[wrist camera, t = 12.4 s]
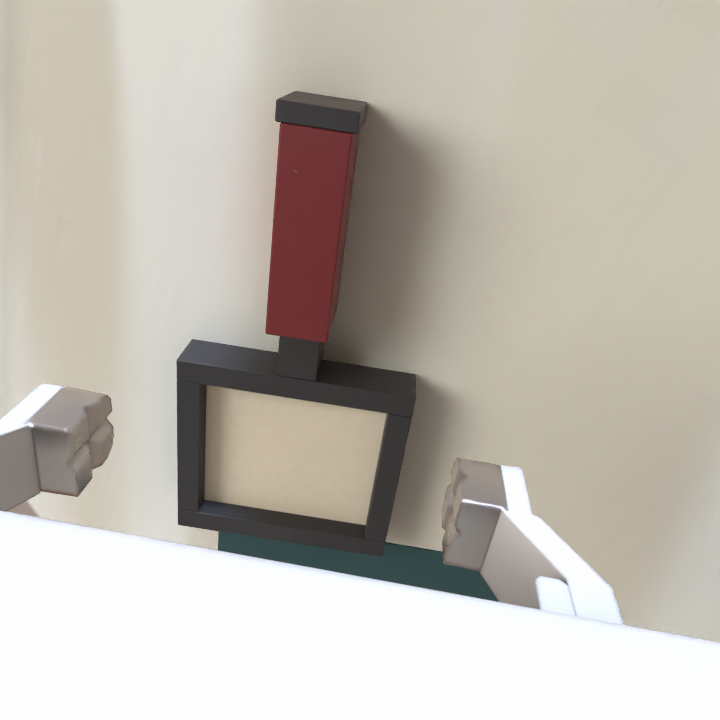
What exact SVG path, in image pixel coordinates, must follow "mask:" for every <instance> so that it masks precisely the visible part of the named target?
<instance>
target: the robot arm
mask: <svg viewBox="0 0 720 720" xmlns="http://www.w3.org/2000/svg"><path fill="white" fill-rule="evenodd" d="M111 412H112V404H111V398H110V397H109V396H108V395H105V394H100V393H95V392H90V391H85V390H80V389H75V388H70V387H64V386H59V385H54V384H48V383H45V384H40V385H39V386H38V387H37V388H36V389H35V390H33V391H32V392H31V393H30V394H29V395H28V396H27V397H26V398H24V399H23V400H22V401H21V402H20V403H19V404H18V405H17V406H15V407H14V408H13V409H12V410H11V411H10V412H9V413H8V414H7V415H5V416H4V417H3V418H2V419H0V720H720V642H715V641H710V640H704V639H699V638H693V637H687V636H682V635H676V634H671V633H665V632H660V631H654V630H649V629H643V628H638V627H633V626H627V625H624V622H623V619H622V616H621V613H620V610H619V607H618V604H617V601H616V598H615V595H614V592H613V589H612V587H611V586H610V585H609V584H608V583H607V582H606V581H605V580H604V579H603V578H602V577H601V576H600V575H599V574H597V573H596V572H595V571H594V570H593V569H592V568H591V567H590V566H589V565H588V564H587V563H586V562H585V561H584V560H583V559H582V558H581V557H580V556H579V555H578V554H577V553H576V552H575V551H574V550H573V549H572V548H571V547H570V546H569V545H568V544H567V543H566V542H565V541H564V540H563V539H562V538H561V537H560V536H558V535H557V534H556V533H555V532H554V531H553V530H552V529H551V528H550V527H549V526H548V525H547V524H546V523H545V522H544V521H543V520H542V519H541V518H540V517H539V516H534V515H533V514H532V509H531V505H530V500H529V496H528V491H527V487H526V482H525V478H524V473H523V470H522V469H521V468H519V467H513V466H506V465H495V464H489V463H484V462H478V461H472V460H466V459H460V458H456V460H455V462H454V465H453V468H452V471H451V474H452V484H450V485H449V486H448V487H447V490H446V494H445V498H444V504H443V510H442V527H443V529H444V530H445V534H444V537H443V541H442V545H443V564H448V565H452V566H457V567H462V568H467V569H471V570H476V571H481V572H480V574H481V575H482V577H483V578H484V580H485V581H486V583H487V584H488V586H489V587H490V589H491V590H492V592H493V593H494V595H495V596H496V598H497V599H498V601H499V602H496V601H491V600H486V599H480V598H475V597H469V596H464V595H458V594H453V593H448V592H442V591H437V590H431V589H426V588H420V587H415V586H409V585H404V584H398V583H393V582H388V581H382V580H377V579H371V578H366V577H360V576H355V575H349V574H344V573H338V572H333V571H327V570H322V569H317V568H311V567H306V566H300V565H295V564H289V563H284V562H278V561H273V560H267V559H262V558H256V557H251V556H246V555H240V554H235V553H229V552H224V551H218V550H213V549H207V548H202V547H197V546H191V545H186V544H180V543H175V542H169V541H164V540H158V539H153V538H148V537H142V536H137V535H131V534H126V533H120V532H115V531H109V530H104V529H98V528H93V527H88V526H82V525H77V524H71V523H66V522H60V521H55V520H49V519H44V518H39V517H33V516H28V515H22V514H16V513H11V512H7V511H9V510H10V509H12V508H14V507H16V506H18V505H19V504H21V503H23V502H25V501H27V500H28V499H30V498H32V497H34V496H36V495H37V494H39V493H40V491H43V492H49V493H56V494H62V495H69V496H75V497H78V496H79V495H80V493H81V492H82V491H83V489H84V488H85V487H86V485H87V484H88V483H89V482H90V480H91V479H92V469H95V468H97V467H99V466H101V465H102V464H103V463H104V462H105V460H106V459H107V457H108V455H109V453H110V450H111V448H112V444H113V437H114V433H113V426H112V424H111V423H110V422H109V421H108V419H107V417H108V415H109V414H110V413H111Z"/></svg>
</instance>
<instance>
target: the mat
mask: <svg viewBox="0 0 720 720" xmlns="http://www.w3.org/2000/svg"><path fill="white" fill-rule="evenodd" d="M218 551H224V552H229V553H235V554H240V555H246V556H251V557H256V558H262V559H267V560H273V561H278V562H284V563H289V564H295V565H300V566H306V567H311V568H317V569H322V570H327V571H333V572H338V573H344V574H349V575H355V576H360V577H366V578H371V579H377V580H382V581H388V582H393V583H398V584H404V585H409V586H415V587H420V588H426V589H431V590H437V591H442V592H448V593H453V594H458V595H464V596H469V597H475V598H480V599H486V600H491V601H496V602H499V601H498V599H497V598H496V596H495V595H494V593H493V592H492V590H491V589H490V587H489V586H488V584H487V583H486V581H485V580H484V578H483V577H482V575H481V574H480V572H481V571H476V570H471V569H467V568H462V567H457V566H452V565H448V564H443V552H441V551H435V550H429V549H423V548H417V547H411V546H405V545H399V544H393V543H387V542H385V545H384V550H383V555H382V557H378V556H372V555H366V554H360V553H353V552H347V551H341V550H334V549H328V548H322V547H316V546H309V545H303V544H297V543H290V542H284V541H278V540H271V539H265V538H259V537H253V536H246V535H240V534H234V533H227V532H221V531H219V540H218Z"/></svg>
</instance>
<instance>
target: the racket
mask: <svg viewBox="0 0 720 720" xmlns="http://www.w3.org/2000/svg"><path fill="white" fill-rule="evenodd" d="M367 105H368V104H367V102H362V101H356V100H350V99H343V98H337V97H330V96H324V95H318V94H311V93H305V92H298V91H295V92H292V93H290V94H288V95H286V96H284V97H281V98H279V99H277V101H276V113H275V121H277V122H282V123H281V124H280V132H279V147H278V161H277V175H276V190H275V204H274V218H273V232H272V247H271V261H270V275H269V290H268V304H267V318H266V334H271V335H278V336H280V339H279V351H278V353H276V352H269V351H263V350H257V349H250V348H244V347H238V346H231V345H225V344H219V343H212V342H206V341H200V340H193V339H192V340H191V342H190V343H189V344H188V346H187V347H186V348H185V350H184V351H183V352H182V354H181V355H180V357H179V358H178V359H177V456H178V525H183V526H190V527H196V528H202V529H209V530H215V531H221V532H227V533H234V534H240V535H246V536H253V537H259V538H265V539H271V540H278V541H284V542H290V543H297V544H303V545H309V546H316V547H322V548H328V549H334V550H341V551H347V552H353V553H360V554H366V555H372V556H378V557H382V555H383V550H384V545H385V540H386V536H387V531H388V526H389V521H390V517H391V512H392V507H393V503H394V498H395V493H396V489H397V484H398V479H399V474H400V470H401V465H402V460H403V456H404V451H405V446H406V442H407V437H408V432H409V427H410V423H411V417H412V414H413V409H414V404H415V399H416V375H415V374H409V373H402V372H396V371H390V370H383V369H377V368H371V367H364V366H358V365H352V364H345V363H339V362H333V361H326V360H322V358H323V350H324V343H326V342H327V340H328V337H329V333H330V330H331V326H332V322H333V319H334V315H335V312H336V308H337V301H338V293H339V285H340V278H341V270H342V262H343V254H344V247H345V239H346V231H347V223H348V216H349V208H350V200H351V192H352V185H353V177H354V169H355V161H356V154H357V146H358V138H359V131H360V129H361V127H362V125H363V124H364V122H365V120H366V112H367Z"/></svg>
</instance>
